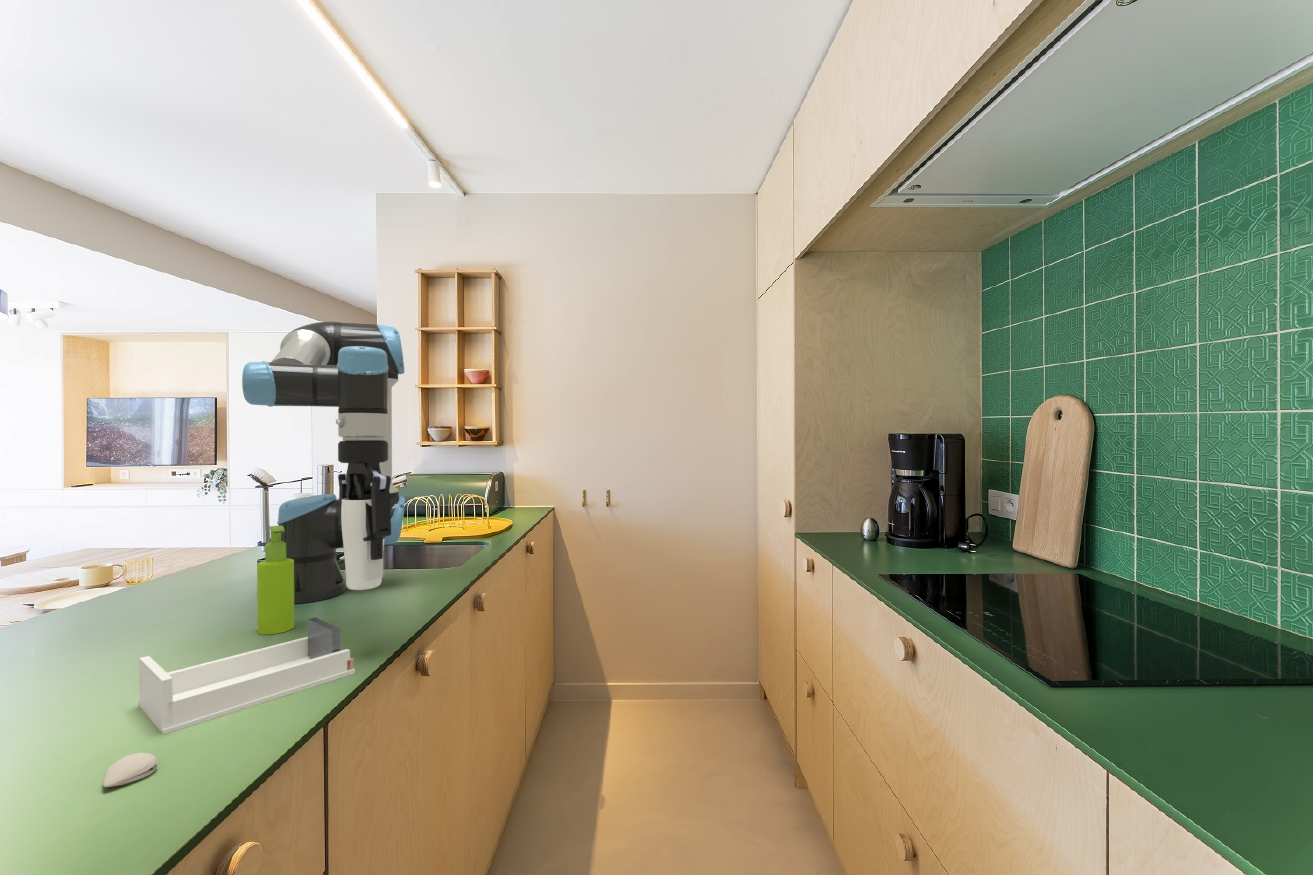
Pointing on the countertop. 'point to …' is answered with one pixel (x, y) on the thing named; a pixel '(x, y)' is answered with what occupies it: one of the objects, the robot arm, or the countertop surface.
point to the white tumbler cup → (355, 543)
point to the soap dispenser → (275, 587)
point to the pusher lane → (233, 682)
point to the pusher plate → (322, 638)
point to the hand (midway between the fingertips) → (364, 575)
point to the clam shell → (130, 769)
